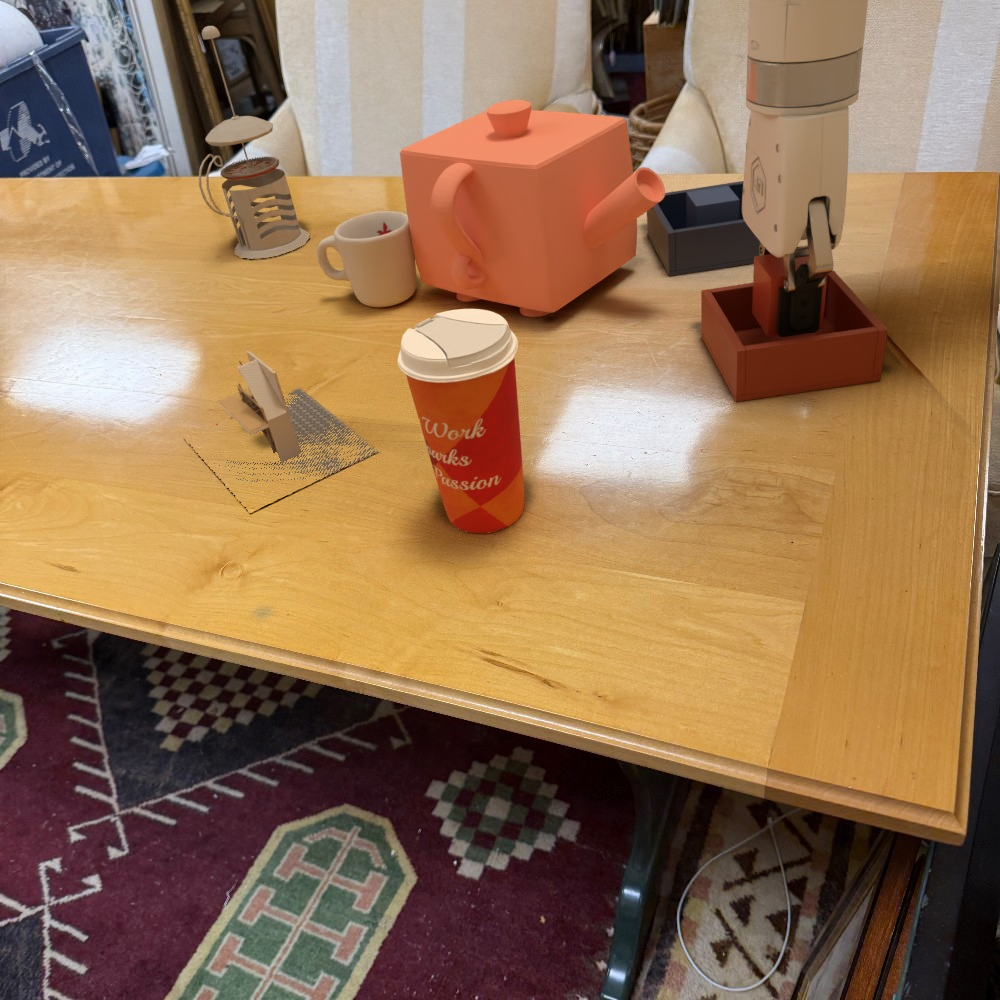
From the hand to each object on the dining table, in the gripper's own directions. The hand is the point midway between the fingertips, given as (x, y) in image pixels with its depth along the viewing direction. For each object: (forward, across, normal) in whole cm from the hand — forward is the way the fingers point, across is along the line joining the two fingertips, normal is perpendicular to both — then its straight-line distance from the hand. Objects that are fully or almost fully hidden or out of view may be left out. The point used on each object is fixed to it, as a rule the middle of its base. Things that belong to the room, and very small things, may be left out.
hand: (787, 316), depth 74 cm
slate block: (+3, -25, 0) cm, 25 cm away
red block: (0, 0, 0) cm, 0 cm away
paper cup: (+4, +15, -26) cm, 30 cm away
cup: (+4, -25, -36) cm, 44 cm away
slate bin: (+4, -25, 0) cm, 25 cm away
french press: (+4, -46, -51) cm, 69 cm away
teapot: (+4, -20, -17) cm, 26 cm away
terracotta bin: (+4, 0, 0) cm, 4 cm away
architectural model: (+4, +2, -43) cm, 43 cm away
